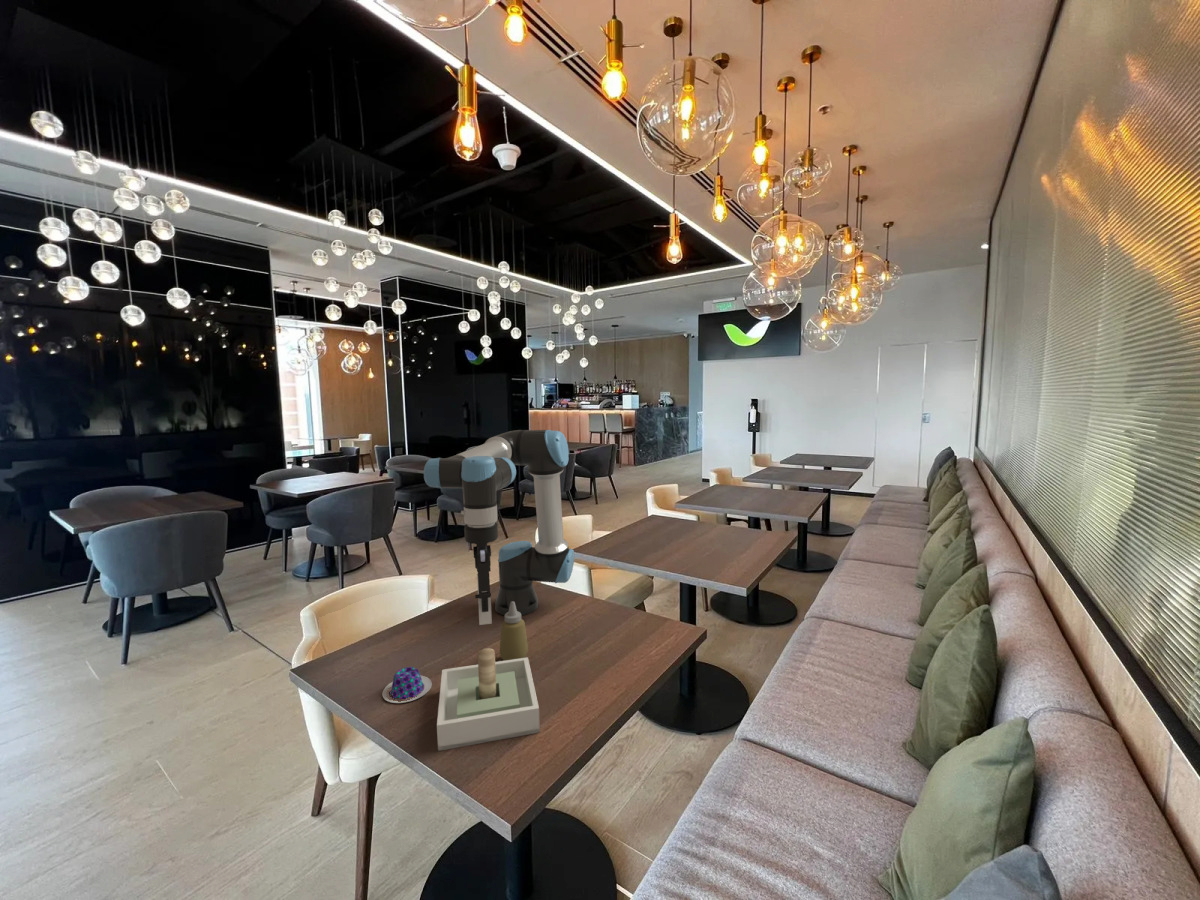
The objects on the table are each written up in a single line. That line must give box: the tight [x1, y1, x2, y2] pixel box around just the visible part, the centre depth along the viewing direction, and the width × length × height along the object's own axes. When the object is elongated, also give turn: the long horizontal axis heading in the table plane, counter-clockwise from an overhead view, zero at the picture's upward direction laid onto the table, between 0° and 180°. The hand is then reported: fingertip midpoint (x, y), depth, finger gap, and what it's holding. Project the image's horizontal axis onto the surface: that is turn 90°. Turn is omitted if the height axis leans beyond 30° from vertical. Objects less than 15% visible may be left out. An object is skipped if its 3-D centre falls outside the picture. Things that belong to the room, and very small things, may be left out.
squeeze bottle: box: [499, 601, 529, 661], centre depth 140 cm, size 8×8×18 cm
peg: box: [477, 647, 496, 700], centre depth 119 cm, size 4×4×14 cm
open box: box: [436, 656, 541, 752], centre depth 120 cm, size 22×22×6 cm
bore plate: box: [457, 671, 520, 719], centre depth 120 cm, size 14×14×4 cm
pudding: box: [382, 666, 432, 704], centre depth 128 cm, size 12×12×5 cm
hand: (484, 610), depth 117 cm, fingers open, 13 cm apart
